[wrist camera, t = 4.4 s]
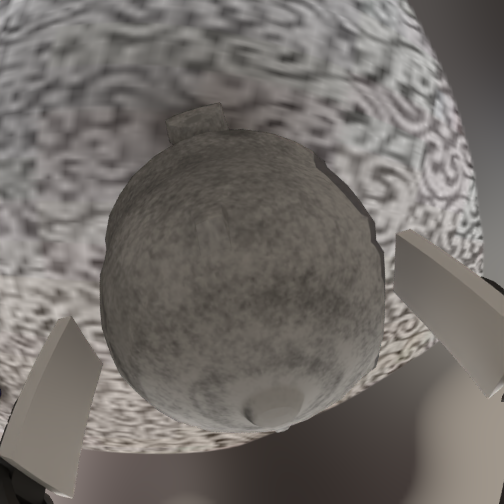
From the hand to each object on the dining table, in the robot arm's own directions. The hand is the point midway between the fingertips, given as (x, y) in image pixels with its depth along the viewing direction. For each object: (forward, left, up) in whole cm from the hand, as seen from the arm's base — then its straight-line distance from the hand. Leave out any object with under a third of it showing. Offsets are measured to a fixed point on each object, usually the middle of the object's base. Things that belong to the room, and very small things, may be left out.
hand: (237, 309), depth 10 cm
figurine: (0, 0, -20) cm, 20 cm away
